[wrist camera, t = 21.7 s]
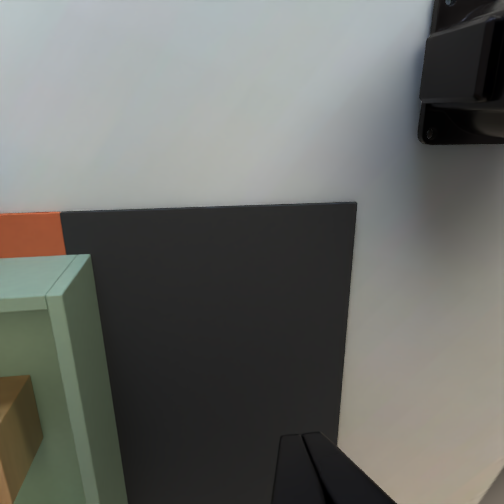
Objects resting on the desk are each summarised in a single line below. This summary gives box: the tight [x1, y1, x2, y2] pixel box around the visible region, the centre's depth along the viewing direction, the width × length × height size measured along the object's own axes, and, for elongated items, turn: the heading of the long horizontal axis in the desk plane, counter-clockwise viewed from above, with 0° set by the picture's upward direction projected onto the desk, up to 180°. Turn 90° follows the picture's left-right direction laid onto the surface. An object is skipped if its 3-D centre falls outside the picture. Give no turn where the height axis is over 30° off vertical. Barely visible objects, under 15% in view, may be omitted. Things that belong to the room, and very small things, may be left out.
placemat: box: [0, 202, 357, 504], centre depth 22 cm, size 24×20×1 cm
